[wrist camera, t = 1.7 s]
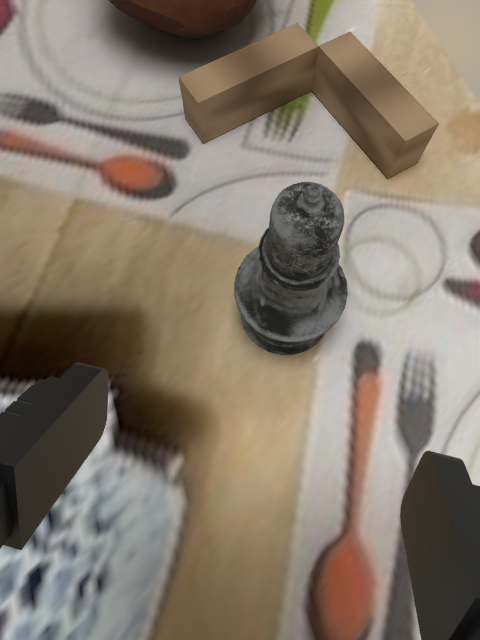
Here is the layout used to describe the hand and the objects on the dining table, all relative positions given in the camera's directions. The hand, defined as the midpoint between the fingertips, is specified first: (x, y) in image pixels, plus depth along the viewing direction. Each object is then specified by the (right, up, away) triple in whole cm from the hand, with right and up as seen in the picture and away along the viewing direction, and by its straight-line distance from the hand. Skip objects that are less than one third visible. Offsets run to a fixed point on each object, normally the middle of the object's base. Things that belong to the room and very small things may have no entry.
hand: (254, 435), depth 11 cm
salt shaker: (+2, +3, +15) cm, 16 cm away
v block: (+4, +17, +20) cm, 27 cm away
